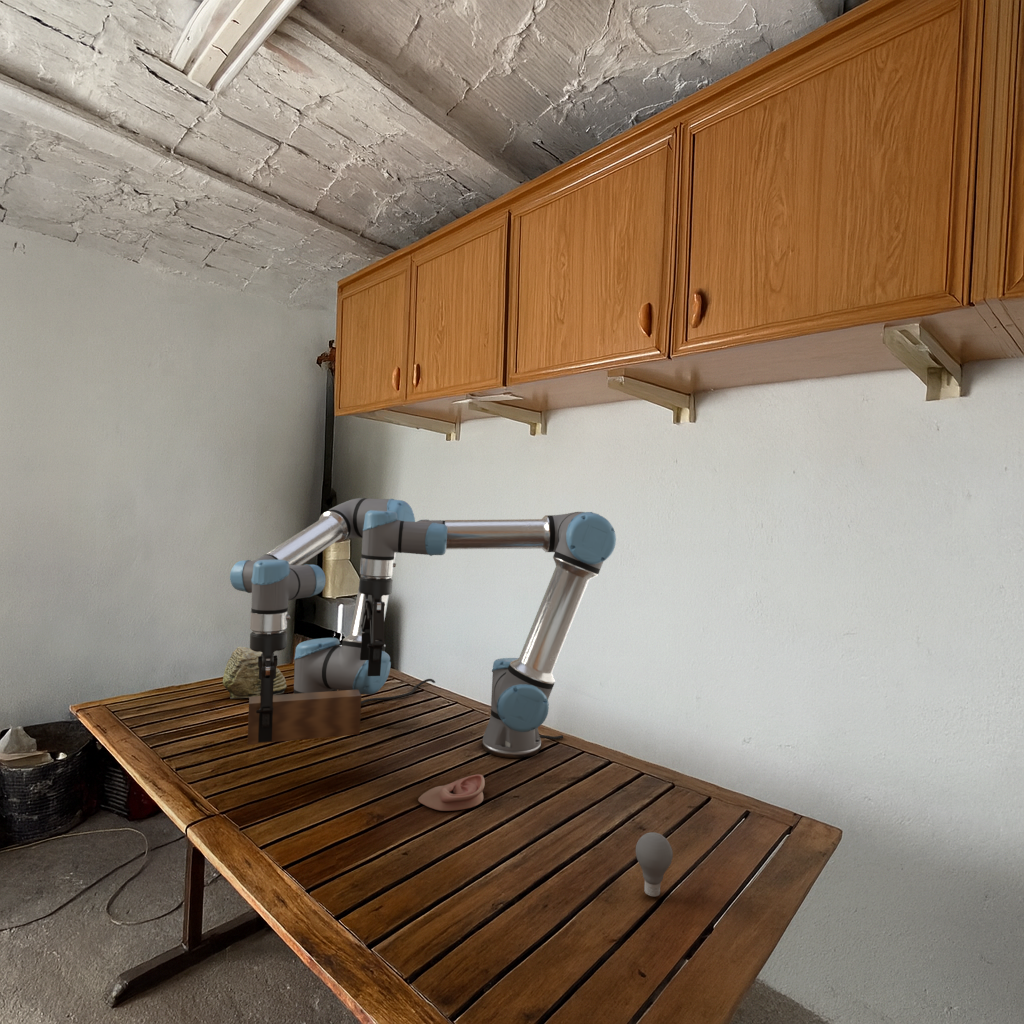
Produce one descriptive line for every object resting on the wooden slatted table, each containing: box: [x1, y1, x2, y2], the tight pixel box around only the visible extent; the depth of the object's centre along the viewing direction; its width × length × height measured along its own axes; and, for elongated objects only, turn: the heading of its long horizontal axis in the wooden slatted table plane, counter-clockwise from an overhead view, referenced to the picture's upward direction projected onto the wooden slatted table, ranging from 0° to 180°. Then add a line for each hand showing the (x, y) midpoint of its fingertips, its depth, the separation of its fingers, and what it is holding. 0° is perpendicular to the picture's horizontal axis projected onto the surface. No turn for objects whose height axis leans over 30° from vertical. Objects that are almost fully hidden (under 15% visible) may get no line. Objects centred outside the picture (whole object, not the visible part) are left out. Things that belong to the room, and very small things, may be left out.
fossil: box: [222, 646, 288, 699], centre depth 198 cm, size 9×18×15 cm, turn 132°
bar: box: [247, 690, 362, 745], centre depth 142 cm, size 24×5×9 cm, turn 111°
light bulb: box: [635, 831, 674, 897], centre depth 105 cm, size 6×6×10 cm
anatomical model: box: [417, 773, 486, 812], centre depth 135 cm, size 13×4×12 cm
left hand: (265, 736), depth 139 cm, fingers closed on bar, 5 cm apart
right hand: (369, 667), depth 148 cm, fingers open, 13 cm apart
